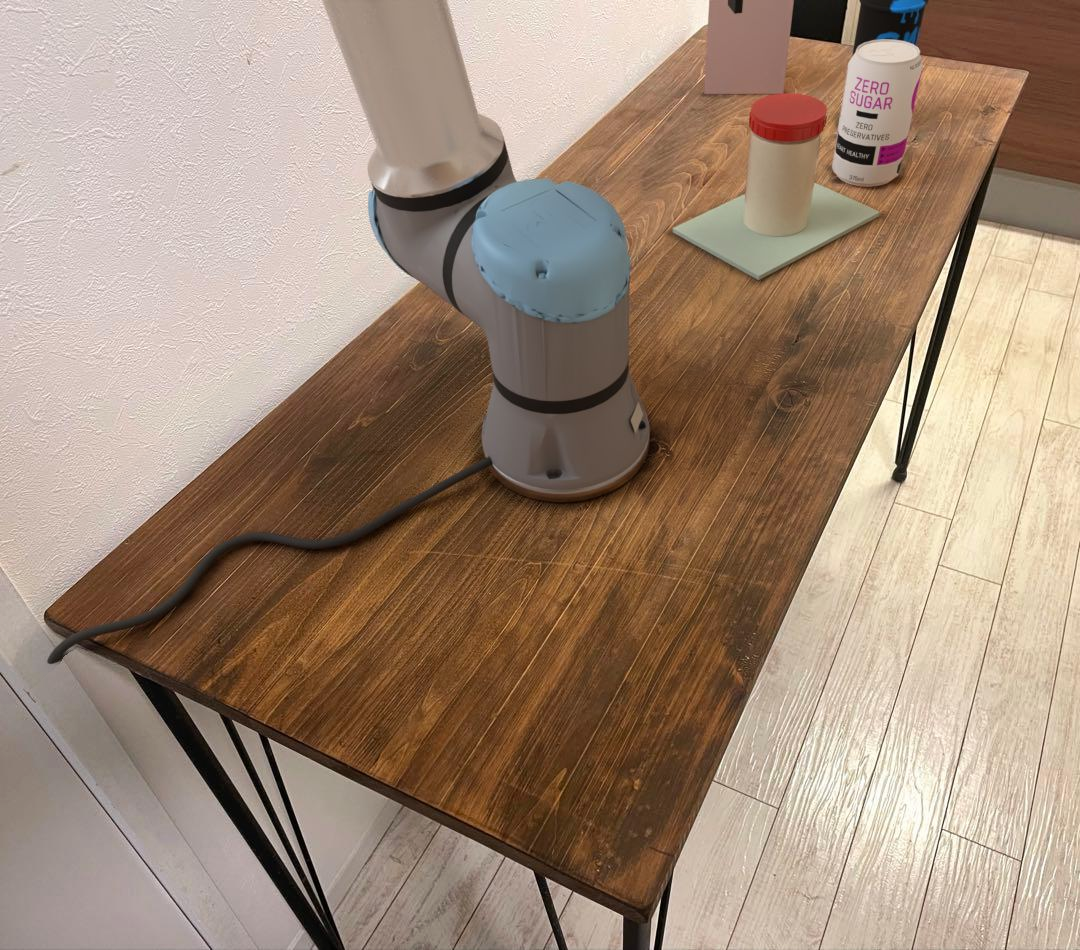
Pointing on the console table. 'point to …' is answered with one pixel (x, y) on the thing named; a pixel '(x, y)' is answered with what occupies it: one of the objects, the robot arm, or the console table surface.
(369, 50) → the robot arm
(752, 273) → the mat
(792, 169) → the jar
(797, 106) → the lid
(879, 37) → the aerosol can
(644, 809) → the console table surface
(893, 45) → the white soda can
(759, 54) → the greeting card
